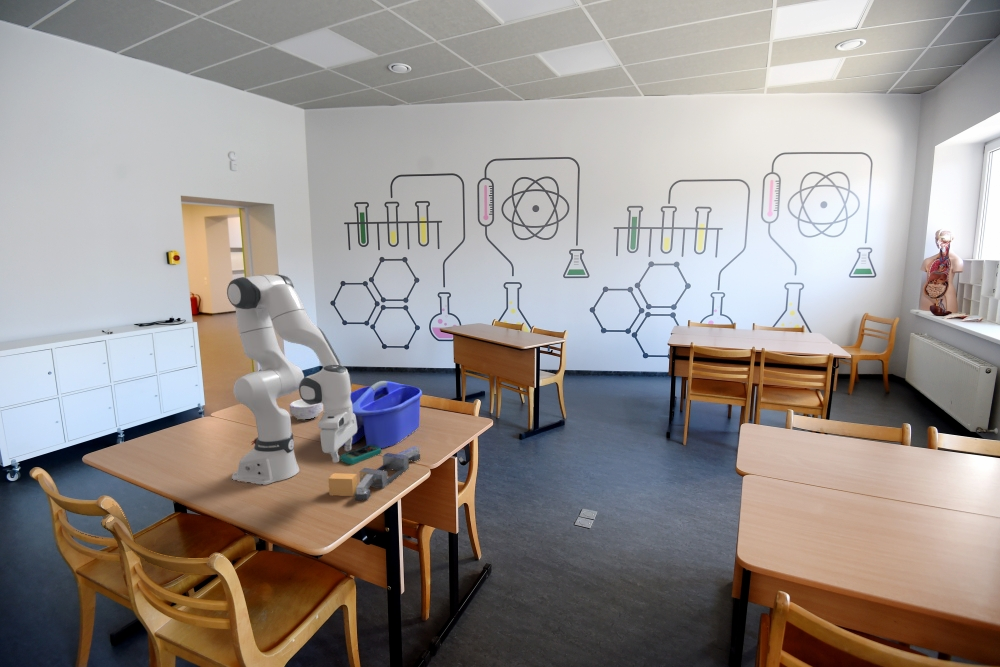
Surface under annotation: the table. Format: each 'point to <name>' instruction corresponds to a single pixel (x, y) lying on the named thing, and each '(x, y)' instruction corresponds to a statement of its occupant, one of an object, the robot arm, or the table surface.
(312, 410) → the paper bowls
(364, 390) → the caddy
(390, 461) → the grey long piece
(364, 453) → the digital multimeter
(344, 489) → the light orange rectangular block
